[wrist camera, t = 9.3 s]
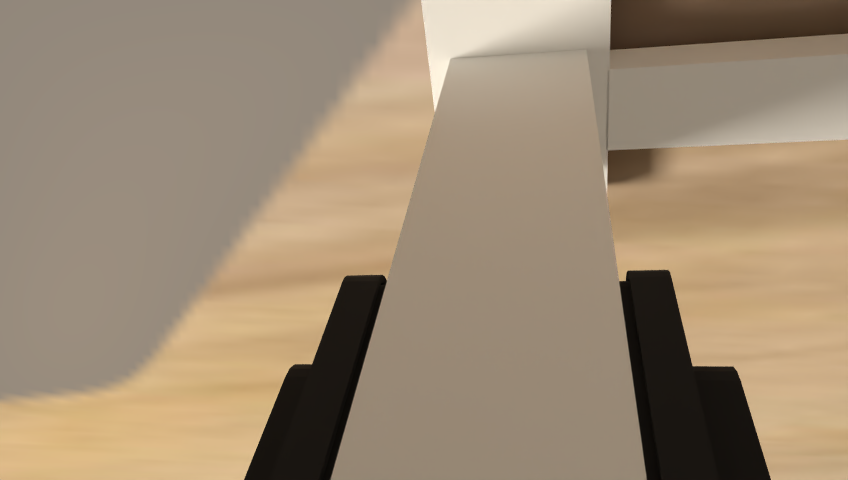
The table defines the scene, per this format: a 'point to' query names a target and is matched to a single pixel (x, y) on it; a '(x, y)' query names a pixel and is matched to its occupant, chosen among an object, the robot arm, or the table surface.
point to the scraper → (546, 234)
